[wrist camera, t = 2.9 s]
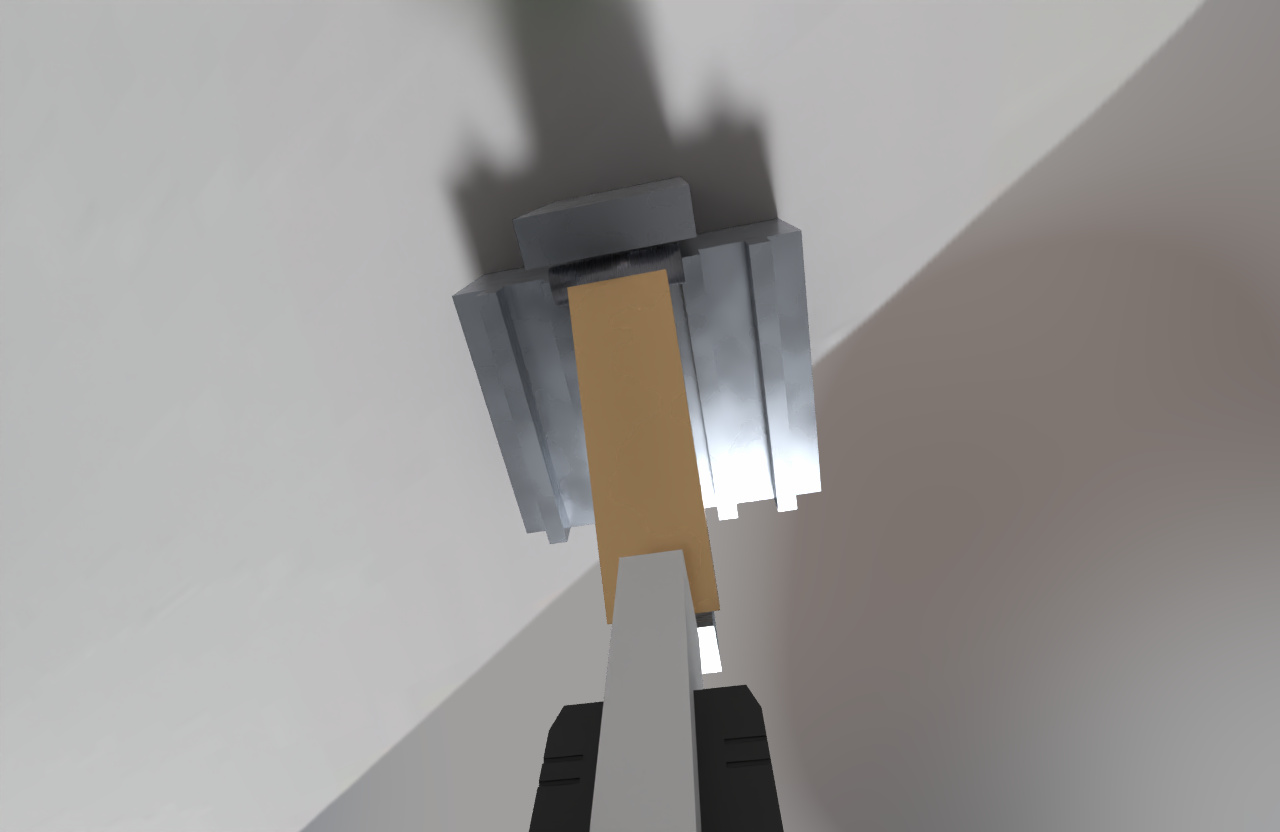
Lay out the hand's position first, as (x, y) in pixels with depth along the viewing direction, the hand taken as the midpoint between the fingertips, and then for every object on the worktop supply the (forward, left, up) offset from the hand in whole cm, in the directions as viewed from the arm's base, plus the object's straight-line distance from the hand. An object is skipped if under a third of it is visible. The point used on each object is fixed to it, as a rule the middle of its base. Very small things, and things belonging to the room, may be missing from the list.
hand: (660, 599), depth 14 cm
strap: (0, +2, -5) cm, 5 cm away
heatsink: (0, +2, -13) cm, 13 cm away
